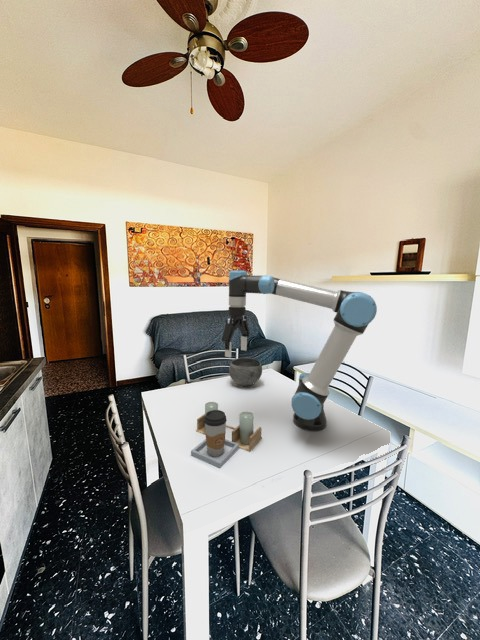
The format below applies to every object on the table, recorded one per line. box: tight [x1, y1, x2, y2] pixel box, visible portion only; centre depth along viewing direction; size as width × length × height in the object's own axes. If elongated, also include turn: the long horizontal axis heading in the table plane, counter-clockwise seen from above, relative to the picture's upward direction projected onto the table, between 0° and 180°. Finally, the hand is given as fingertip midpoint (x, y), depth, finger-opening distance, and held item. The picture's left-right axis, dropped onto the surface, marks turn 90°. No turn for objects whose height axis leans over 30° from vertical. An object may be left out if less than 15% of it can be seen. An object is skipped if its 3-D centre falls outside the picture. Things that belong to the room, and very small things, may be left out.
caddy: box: [195, 413, 263, 453], centre depth 111 cm, size 26×11×6 cm, turn 60°
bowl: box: [228, 357, 263, 387], centre depth 167 cm, size 21×21×15 cm
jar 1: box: [204, 401, 219, 416], centre depth 115 cm, size 6×6×11 cm
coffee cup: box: [204, 409, 227, 458], centre depth 99 cm, size 8×8×15 cm
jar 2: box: [238, 411, 254, 445], centre depth 106 cm, size 6×6×11 cm
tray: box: [190, 438, 240, 469], centre depth 100 cm, size 13×13×2 cm
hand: (236, 353), depth 119 cm, fingers open, 13 cm apart
